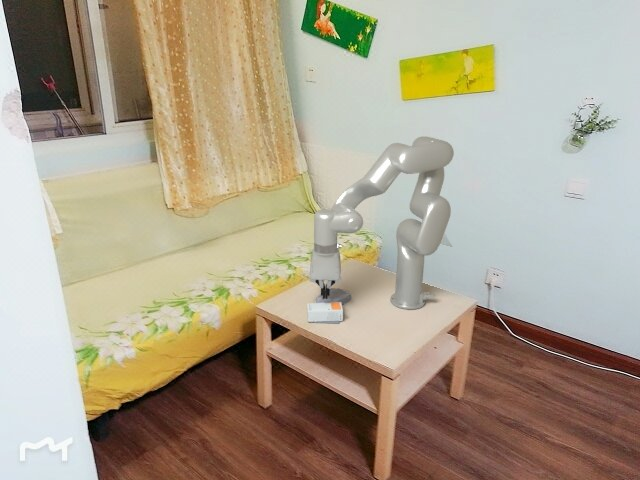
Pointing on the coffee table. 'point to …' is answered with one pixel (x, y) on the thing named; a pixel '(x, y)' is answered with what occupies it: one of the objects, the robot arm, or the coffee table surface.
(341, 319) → the skincare box
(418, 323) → the coffee table surface
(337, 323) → the pad
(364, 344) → the coffee table surface
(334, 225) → the robot arm
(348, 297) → the stone block
